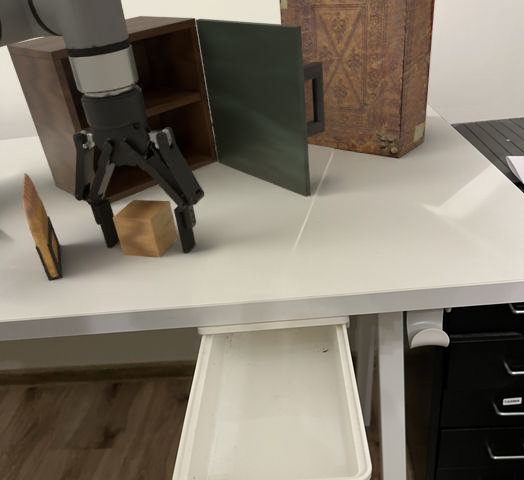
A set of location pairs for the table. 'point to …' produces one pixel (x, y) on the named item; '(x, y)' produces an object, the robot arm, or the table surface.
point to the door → (261, 99)
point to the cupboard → (150, 81)
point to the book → (367, 70)
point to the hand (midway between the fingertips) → (151, 246)
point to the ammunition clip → (42, 230)
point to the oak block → (146, 228)
